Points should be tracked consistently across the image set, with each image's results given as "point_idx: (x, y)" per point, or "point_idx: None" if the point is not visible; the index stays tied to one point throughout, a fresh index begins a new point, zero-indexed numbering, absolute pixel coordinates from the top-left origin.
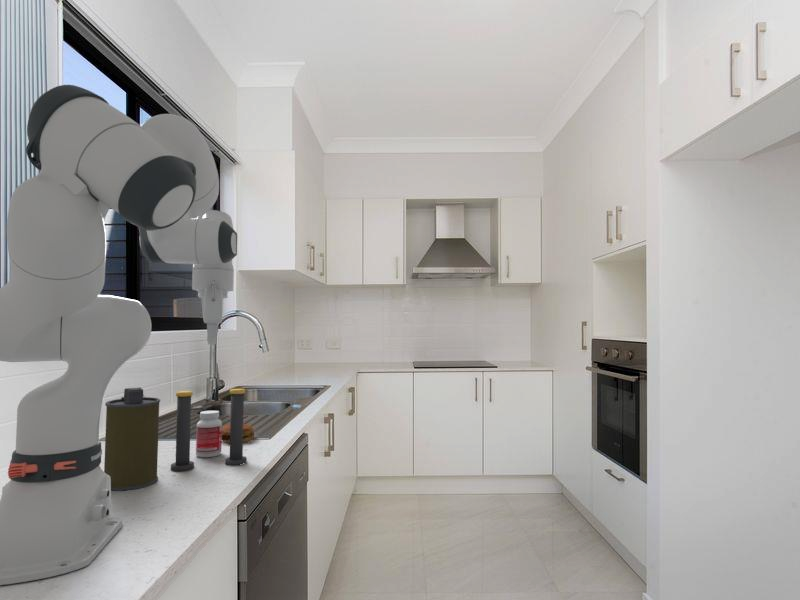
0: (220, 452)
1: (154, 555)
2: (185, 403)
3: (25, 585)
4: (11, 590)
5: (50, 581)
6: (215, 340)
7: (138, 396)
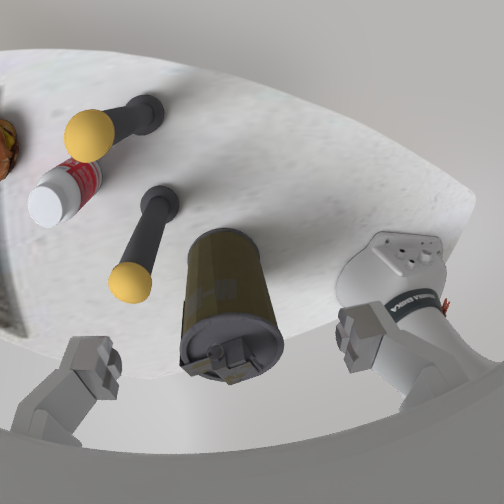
0: None
1: (444, 193)
2: (149, 264)
3: None
4: None
5: None
6: (386, 316)
7: (247, 353)
